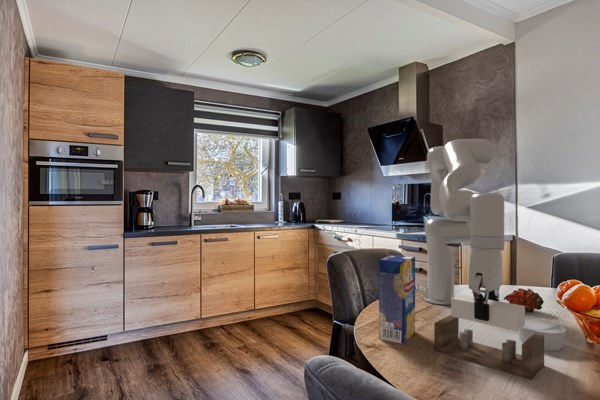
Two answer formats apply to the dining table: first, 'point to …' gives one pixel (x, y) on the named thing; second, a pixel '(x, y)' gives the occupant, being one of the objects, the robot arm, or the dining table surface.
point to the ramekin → (543, 333)
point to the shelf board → (490, 312)
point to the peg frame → (489, 349)
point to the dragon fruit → (525, 299)
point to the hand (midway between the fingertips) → (486, 315)
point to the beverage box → (396, 298)
